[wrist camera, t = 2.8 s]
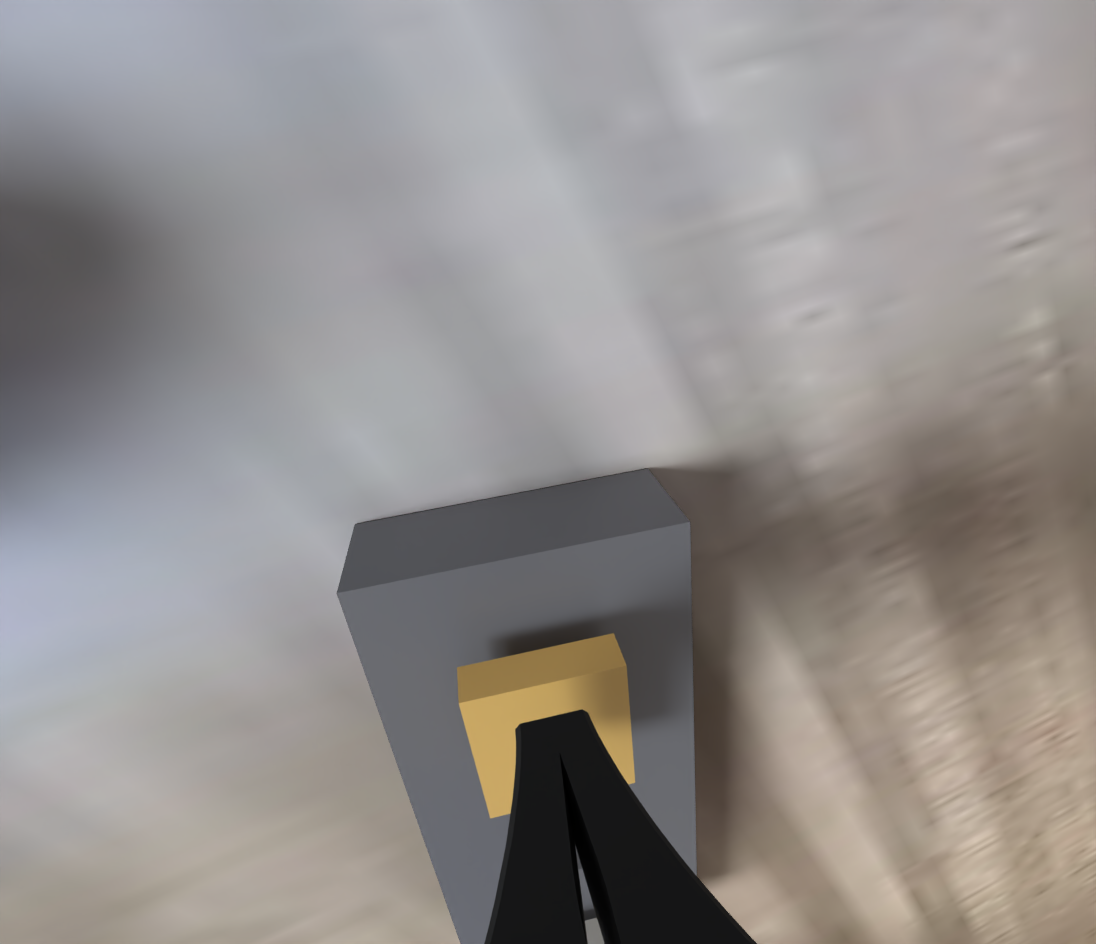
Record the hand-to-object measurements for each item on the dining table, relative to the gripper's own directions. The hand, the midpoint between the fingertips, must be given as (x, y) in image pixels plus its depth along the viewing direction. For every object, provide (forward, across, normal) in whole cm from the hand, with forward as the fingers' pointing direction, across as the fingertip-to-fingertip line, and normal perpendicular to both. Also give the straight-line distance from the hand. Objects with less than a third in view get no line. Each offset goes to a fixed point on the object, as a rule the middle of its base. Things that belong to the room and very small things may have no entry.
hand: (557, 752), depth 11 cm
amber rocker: (+2, 0, +1) cm, 3 cm away
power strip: (+6, 0, +9) cm, 11 cm away
